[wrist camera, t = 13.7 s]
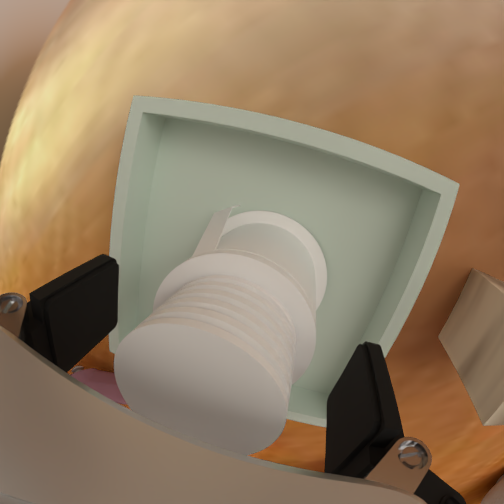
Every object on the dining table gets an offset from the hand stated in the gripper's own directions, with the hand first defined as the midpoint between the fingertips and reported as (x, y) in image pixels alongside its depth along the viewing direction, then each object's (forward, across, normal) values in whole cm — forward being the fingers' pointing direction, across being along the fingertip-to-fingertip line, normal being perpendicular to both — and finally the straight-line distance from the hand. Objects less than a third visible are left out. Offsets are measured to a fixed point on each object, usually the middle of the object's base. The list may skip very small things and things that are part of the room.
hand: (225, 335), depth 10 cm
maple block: (+7, -15, -2) cm, 17 cm away
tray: (+7, 0, 0) cm, 7 cm away
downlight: (+6, 0, 0) cm, 6 cm away
